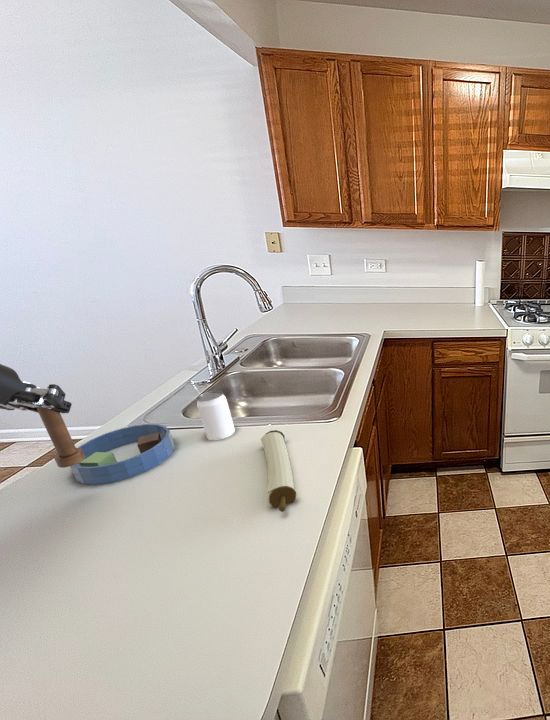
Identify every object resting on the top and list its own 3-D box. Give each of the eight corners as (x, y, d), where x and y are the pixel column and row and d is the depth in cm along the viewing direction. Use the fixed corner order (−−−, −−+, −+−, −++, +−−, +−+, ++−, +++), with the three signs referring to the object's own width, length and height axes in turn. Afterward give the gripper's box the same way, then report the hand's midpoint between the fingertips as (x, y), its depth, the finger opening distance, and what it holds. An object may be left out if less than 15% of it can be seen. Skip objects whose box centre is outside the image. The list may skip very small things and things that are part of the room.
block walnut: (142, 458, 95) (137, 444, 94) (143, 450, 98) (138, 437, 97) (163, 453, 97) (158, 439, 96) (163, 445, 100) (158, 432, 99)
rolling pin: (300, 514, 79) (296, 494, 77) (269, 525, 76) (263, 504, 75) (286, 437, 105) (283, 420, 103) (263, 442, 103) (259, 426, 101)
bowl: (55, 493, 85) (46, 474, 83) (106, 446, 101) (98, 429, 99) (154, 479, 89) (147, 460, 87) (187, 436, 106) (181, 419, 104)
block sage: (86, 477, 89) (79, 462, 87) (101, 466, 93) (95, 452, 91) (103, 477, 89) (97, 462, 87) (118, 466, 93) (113, 452, 91)
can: (233, 426, 110) (222, 387, 106) (237, 436, 105) (226, 396, 101) (205, 434, 106) (193, 394, 102) (209, 445, 102) (196, 403, 97)
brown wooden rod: (52, 469, 78) (19, 401, 72) (66, 457, 81) (36, 391, 76) (77, 466, 79) (46, 398, 73) (89, 454, 82) (61, 389, 77)
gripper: (23, 354, 64) (103, 388, 80) (-79, 358, 62) (24, 393, 78) (7, 397, 62) (93, 425, 77) (-101, 404, 60) (11, 430, 75)
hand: (58, 409), depth 78 cm, fingers closed on brown wooden rod, 2 cm apart
